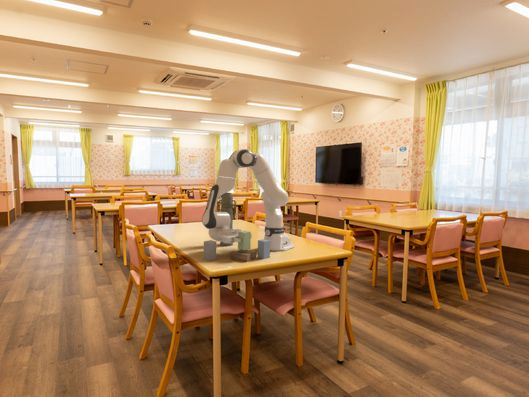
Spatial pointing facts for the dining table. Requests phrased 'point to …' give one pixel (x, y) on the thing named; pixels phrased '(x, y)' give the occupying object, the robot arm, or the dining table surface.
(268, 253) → the blue block
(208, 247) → the grey block
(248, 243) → the green block
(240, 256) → the walnut brick
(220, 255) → the dining table surface
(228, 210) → the thermos
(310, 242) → the dining table surface
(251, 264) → the dining table surface
